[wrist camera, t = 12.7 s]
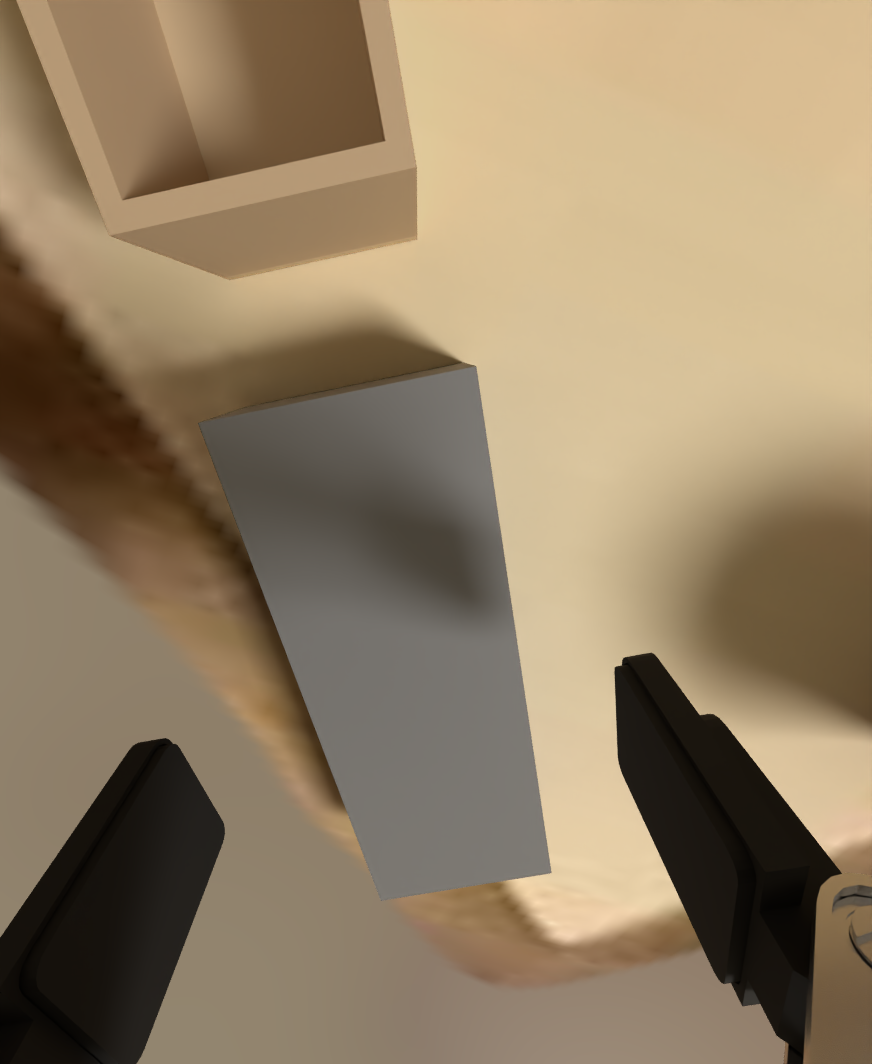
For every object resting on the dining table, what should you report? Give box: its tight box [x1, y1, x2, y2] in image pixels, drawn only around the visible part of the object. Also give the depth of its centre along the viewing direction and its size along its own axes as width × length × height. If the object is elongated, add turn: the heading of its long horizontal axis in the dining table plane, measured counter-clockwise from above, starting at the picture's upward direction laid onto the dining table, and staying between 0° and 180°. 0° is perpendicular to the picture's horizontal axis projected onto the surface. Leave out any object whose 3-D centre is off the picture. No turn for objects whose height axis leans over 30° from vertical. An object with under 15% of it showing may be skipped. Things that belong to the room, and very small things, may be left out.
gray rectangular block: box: [198, 363, 551, 901], centre depth 15 cm, size 18×6×3 cm, turn 11°
